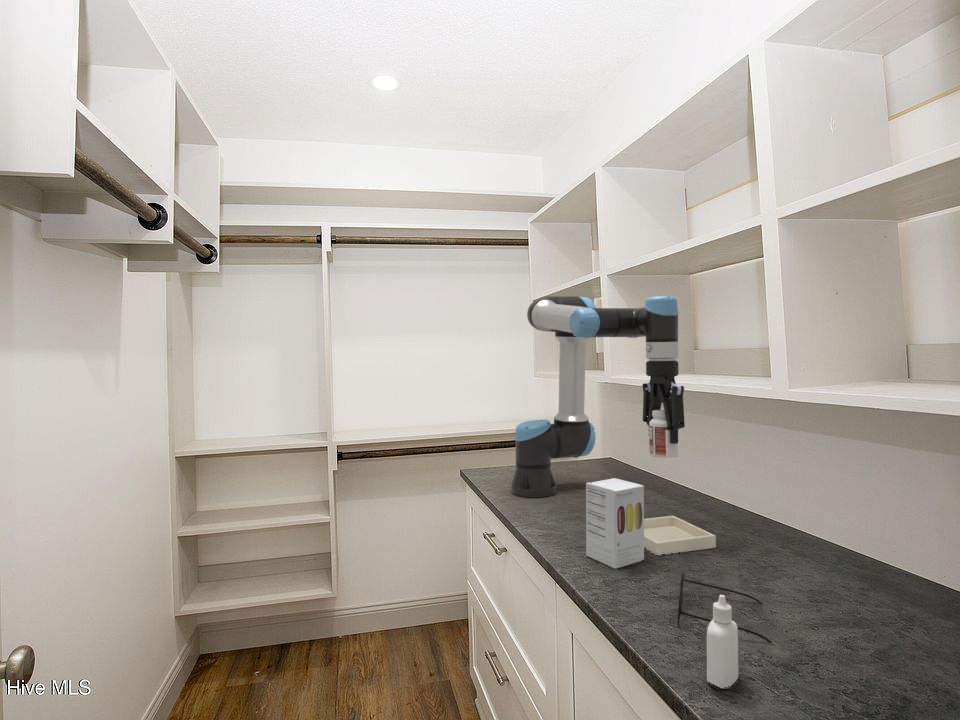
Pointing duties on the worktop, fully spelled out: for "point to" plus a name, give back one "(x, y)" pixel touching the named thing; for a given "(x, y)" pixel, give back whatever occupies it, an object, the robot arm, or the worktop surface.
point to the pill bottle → (658, 434)
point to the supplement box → (615, 522)
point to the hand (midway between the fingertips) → (663, 454)
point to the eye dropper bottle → (722, 646)
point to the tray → (675, 536)
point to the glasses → (709, 619)
